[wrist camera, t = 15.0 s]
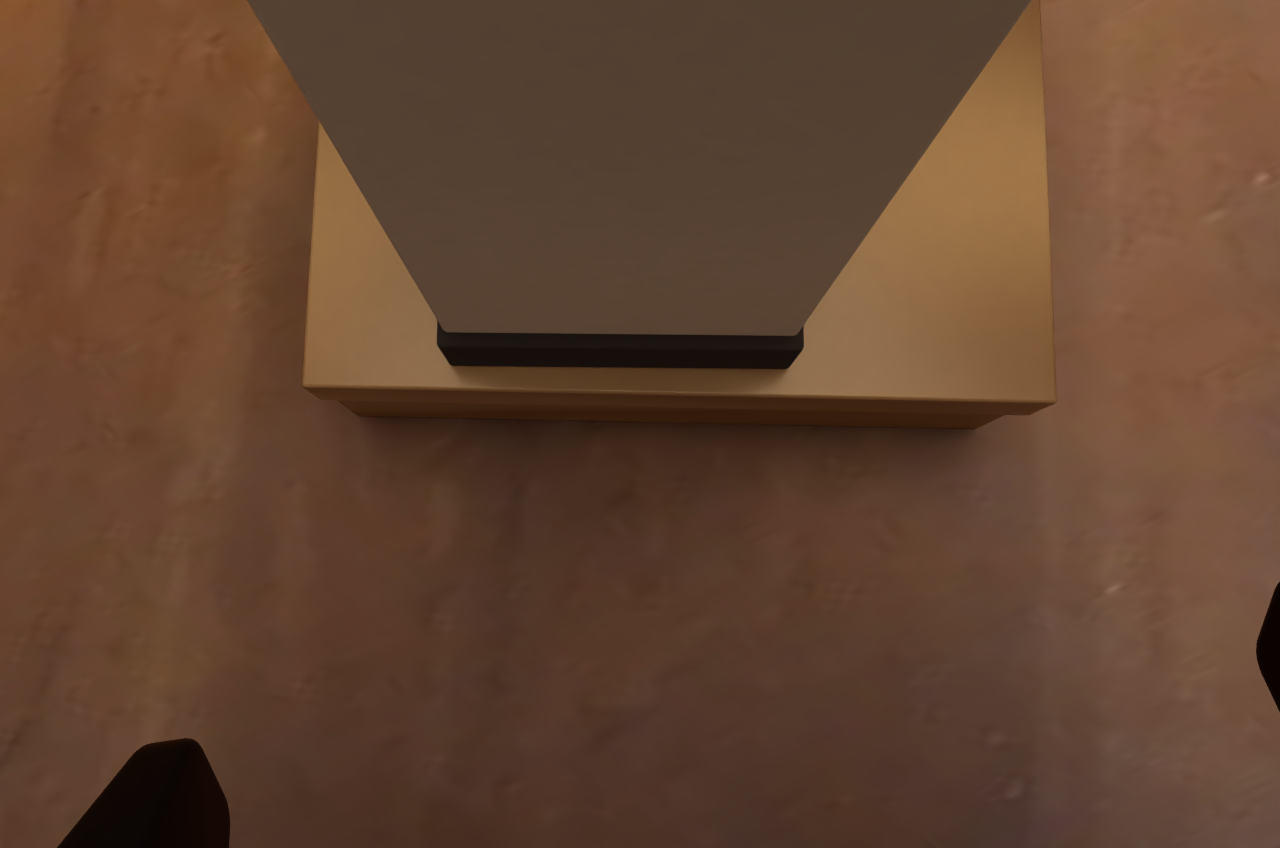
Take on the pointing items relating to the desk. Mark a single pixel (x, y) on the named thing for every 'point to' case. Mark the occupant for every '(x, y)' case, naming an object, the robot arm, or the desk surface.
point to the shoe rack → (833, 334)
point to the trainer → (631, 157)
